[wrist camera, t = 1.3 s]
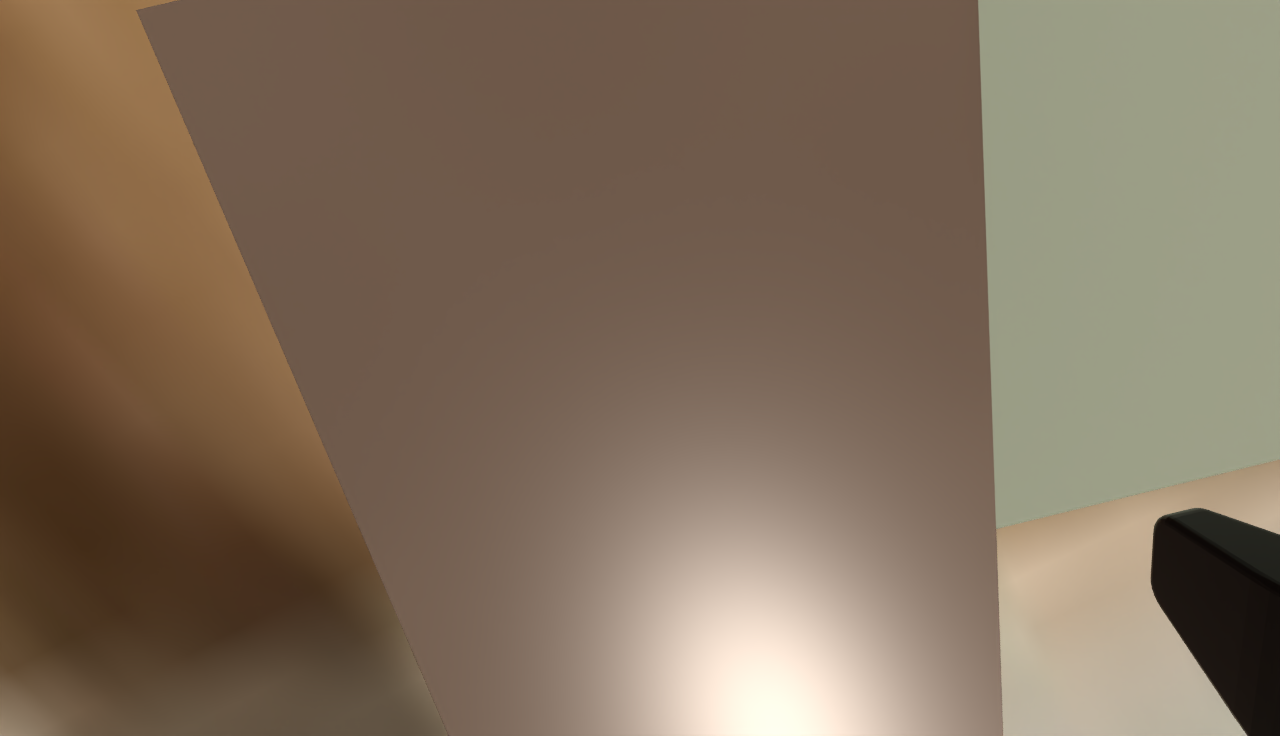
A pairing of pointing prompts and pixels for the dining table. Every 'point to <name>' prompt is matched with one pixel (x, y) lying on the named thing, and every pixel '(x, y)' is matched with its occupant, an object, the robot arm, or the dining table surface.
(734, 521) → the lid
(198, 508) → the dining table surface
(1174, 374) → the mat
